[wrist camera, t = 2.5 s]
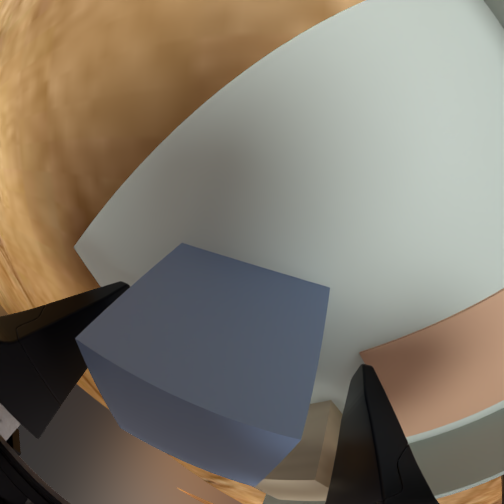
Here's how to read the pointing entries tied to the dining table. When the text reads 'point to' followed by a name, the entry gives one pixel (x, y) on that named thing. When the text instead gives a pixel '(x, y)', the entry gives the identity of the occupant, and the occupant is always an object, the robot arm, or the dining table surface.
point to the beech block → (308, 458)
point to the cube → (211, 360)
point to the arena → (357, 210)
